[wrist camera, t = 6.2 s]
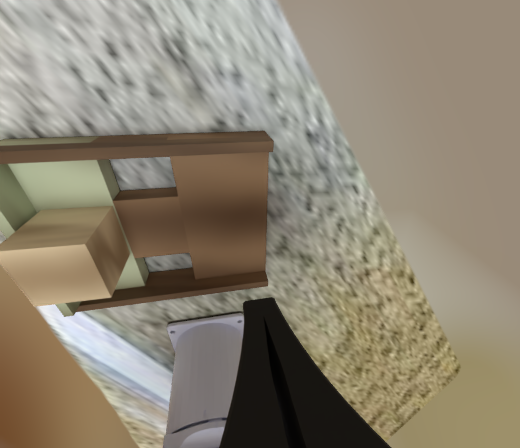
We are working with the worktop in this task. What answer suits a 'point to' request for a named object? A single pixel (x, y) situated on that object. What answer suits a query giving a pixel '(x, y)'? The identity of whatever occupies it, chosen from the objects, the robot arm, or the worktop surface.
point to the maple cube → (66, 255)
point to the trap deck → (154, 206)
